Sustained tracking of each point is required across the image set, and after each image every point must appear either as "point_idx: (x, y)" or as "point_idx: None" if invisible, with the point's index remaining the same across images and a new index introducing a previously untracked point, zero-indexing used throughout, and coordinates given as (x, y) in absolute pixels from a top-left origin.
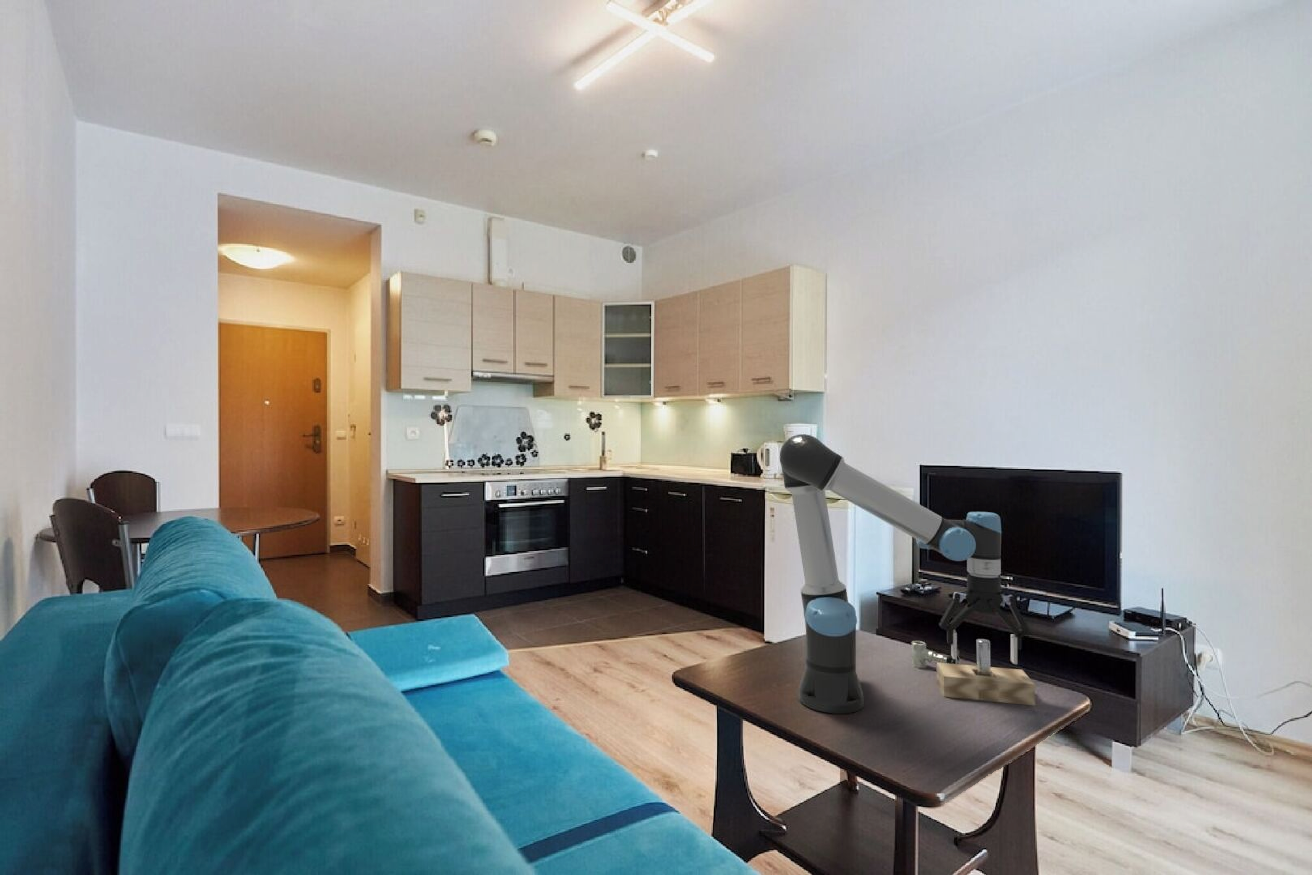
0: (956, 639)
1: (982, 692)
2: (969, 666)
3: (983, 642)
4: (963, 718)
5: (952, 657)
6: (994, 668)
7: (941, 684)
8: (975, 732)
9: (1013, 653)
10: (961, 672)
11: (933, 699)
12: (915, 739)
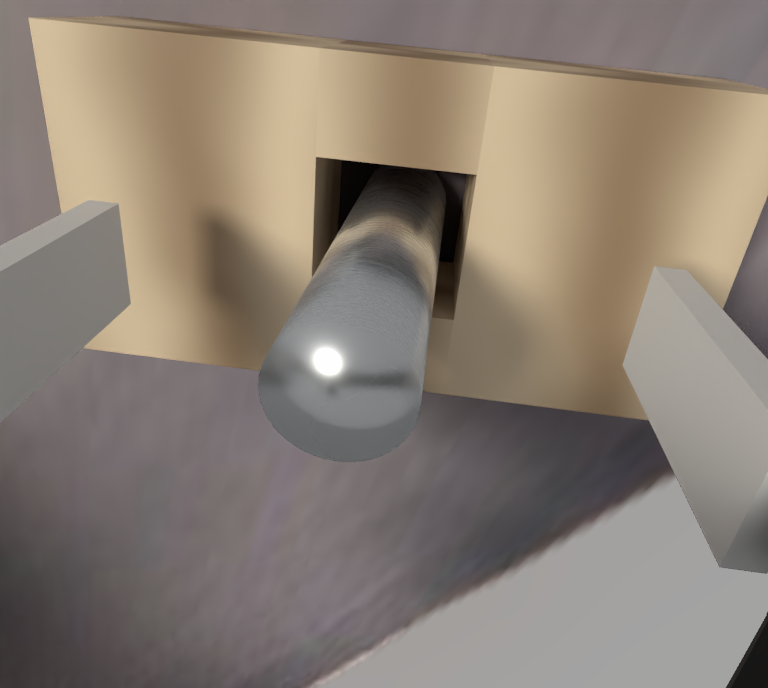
0: (11, 411)
1: None
2: (313, 86)
3: (324, 449)
4: (209, 513)
5: None
6: (534, 108)
7: None
8: (232, 606)
9: (653, 410)
10: (214, 258)
11: None
12: (31, 649)
